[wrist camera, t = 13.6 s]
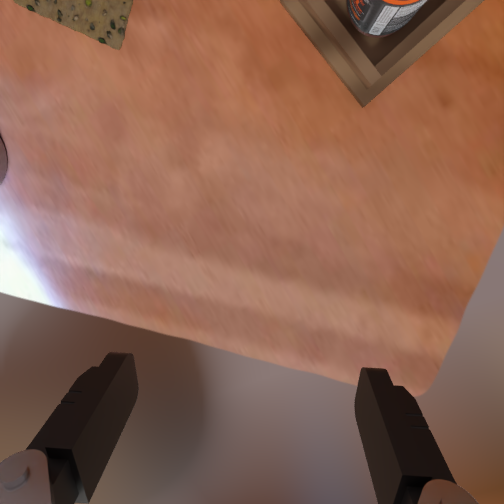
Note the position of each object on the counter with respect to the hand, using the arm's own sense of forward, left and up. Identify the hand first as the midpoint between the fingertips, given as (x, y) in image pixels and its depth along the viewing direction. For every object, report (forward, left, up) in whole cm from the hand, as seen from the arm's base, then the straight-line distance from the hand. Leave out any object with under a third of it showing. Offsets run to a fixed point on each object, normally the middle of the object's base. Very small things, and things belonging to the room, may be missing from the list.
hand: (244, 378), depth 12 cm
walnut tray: (-10, +19, -25) cm, 33 cm away
